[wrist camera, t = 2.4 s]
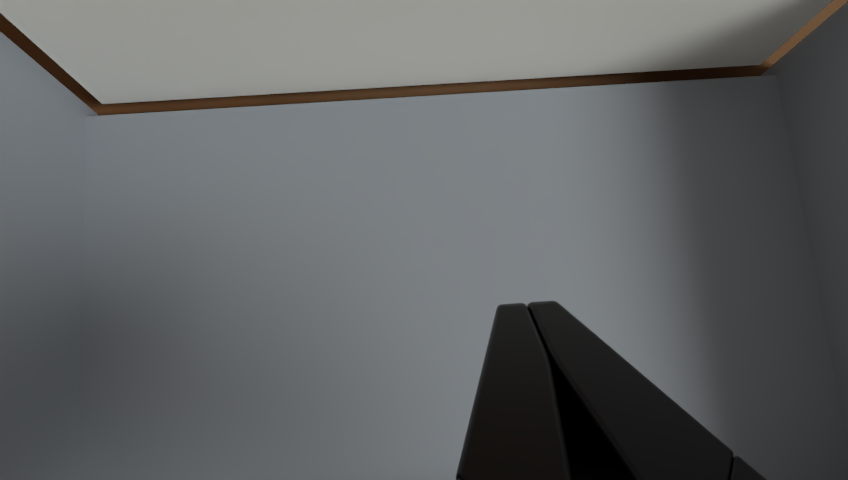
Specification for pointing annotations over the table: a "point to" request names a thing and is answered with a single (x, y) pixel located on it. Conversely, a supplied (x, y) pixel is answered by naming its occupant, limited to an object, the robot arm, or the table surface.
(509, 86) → the table surface
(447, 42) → the flap
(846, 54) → the carton
